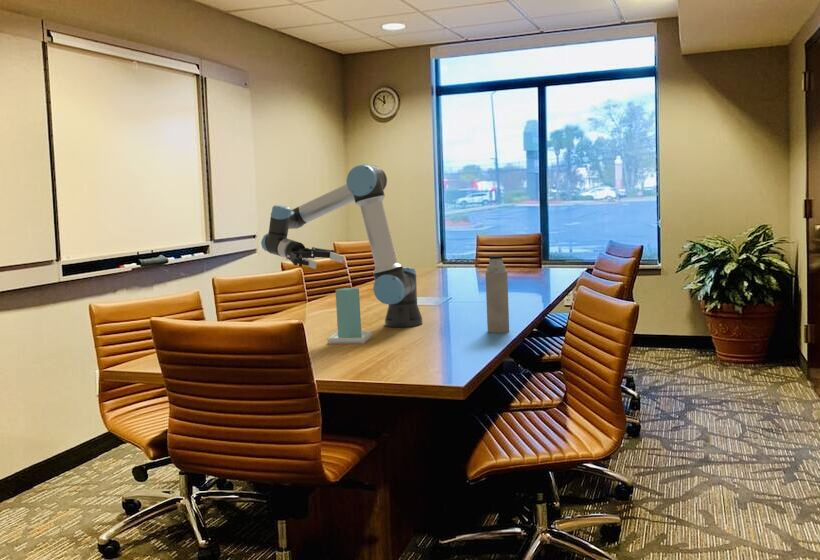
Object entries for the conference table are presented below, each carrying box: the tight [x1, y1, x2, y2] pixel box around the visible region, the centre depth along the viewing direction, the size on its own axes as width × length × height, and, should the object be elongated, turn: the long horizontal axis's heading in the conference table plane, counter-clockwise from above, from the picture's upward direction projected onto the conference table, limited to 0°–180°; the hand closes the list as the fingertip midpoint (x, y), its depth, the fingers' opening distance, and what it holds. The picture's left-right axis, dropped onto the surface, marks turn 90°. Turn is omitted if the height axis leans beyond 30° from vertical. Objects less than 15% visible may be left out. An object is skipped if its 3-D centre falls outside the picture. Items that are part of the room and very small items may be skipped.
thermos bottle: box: [485, 255, 510, 334], centre depth 274 cm, size 8×8×28 cm
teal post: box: [335, 287, 362, 338], centre depth 270 cm, size 6×6×18 cm
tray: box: [326, 330, 373, 345], centre depth 271 cm, size 13×13×2 cm
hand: (329, 262), depth 278 cm, fingers open, 13 cm apart
